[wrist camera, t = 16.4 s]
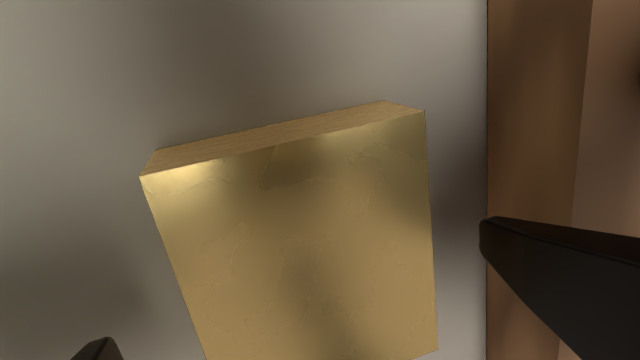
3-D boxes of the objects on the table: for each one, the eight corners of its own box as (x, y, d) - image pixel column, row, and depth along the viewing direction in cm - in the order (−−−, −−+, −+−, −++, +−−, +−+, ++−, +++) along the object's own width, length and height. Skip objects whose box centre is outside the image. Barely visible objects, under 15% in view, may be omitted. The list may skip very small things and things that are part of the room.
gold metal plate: (398, 297, 13) (438, 349, 10) (228, 355, 12) (232, 428, 9) (377, 98, 10) (424, 110, 8) (157, 146, 9) (138, 176, 7)
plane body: (565, 413, 17) (755, 604, 11) (486, 448, 16) (645, 677, 10) (618, -39, 10) (1173, -173, 4) (487, -18, 10) (954, -148, 4)
